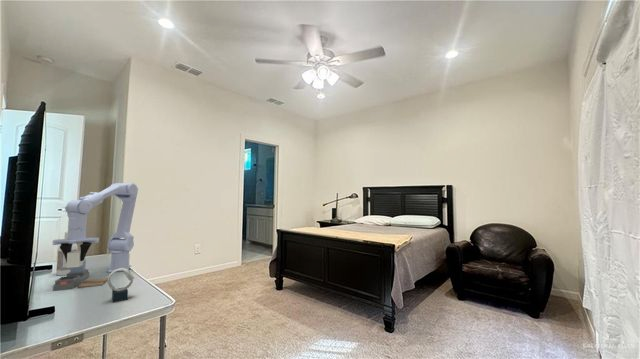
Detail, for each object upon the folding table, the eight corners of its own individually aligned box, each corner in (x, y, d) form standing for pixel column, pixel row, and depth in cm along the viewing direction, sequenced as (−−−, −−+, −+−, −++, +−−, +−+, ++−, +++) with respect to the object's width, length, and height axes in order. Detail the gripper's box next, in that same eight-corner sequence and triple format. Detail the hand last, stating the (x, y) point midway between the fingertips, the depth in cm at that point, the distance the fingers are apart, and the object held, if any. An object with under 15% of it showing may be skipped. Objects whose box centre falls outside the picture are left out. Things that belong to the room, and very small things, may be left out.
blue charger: (73, 274, 120) (74, 260, 120) (85, 273, 122) (85, 259, 122) (69, 276, 116) (70, 262, 117) (81, 275, 118) (82, 261, 118)
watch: (133, 298, 99) (135, 268, 100) (106, 303, 94) (108, 272, 94) (132, 293, 103) (133, 265, 104) (105, 299, 98) (107, 268, 99)
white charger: (70, 265, 112) (71, 251, 113) (82, 264, 114) (83, 250, 114) (66, 267, 109) (67, 253, 109) (78, 266, 110) (79, 252, 111)
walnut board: (86, 281, 117) (86, 279, 117) (108, 279, 120) (108, 277, 120) (77, 287, 109) (77, 286, 109) (102, 285, 112) (102, 284, 112)
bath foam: (59, 272, 128) (62, 231, 129) (78, 271, 131) (80, 230, 132) (53, 276, 122) (56, 233, 123) (73, 274, 125) (76, 232, 126)
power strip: (78, 273, 127) (78, 266, 127) (93, 272, 129) (94, 265, 129) (52, 290, 105) (53, 281, 105) (72, 288, 107) (73, 280, 108)
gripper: (49, 230, 106) (47, 265, 105) (95, 229, 111) (93, 261, 111) (58, 228, 112) (56, 260, 111) (101, 226, 118) (99, 257, 117)
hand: (75, 261), depth 111 cm, fingers closed on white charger, 4 cm apart
